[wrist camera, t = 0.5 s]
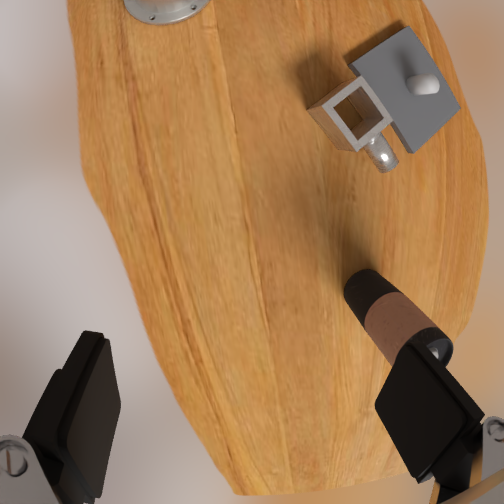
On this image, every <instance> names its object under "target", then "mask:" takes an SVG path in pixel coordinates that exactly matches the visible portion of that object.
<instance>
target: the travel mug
mask: <svg viewBox="0 0 504 504" xmlns="http://www.w3.org/2000/svg"><path fill="white" fill-rule="evenodd" d="M344 297H345V300H346V302H347V304H348V305H349V307H350V308H351V310H352V311H353V313H354V314H355V316H356V317H357V319H358V320H359V322H360V323H361V325H362V326H363V328H364V329H365V331H366V332H367V333H368V335H369V336H370V337H371V339H372V340H373V341H374V343H375V344H376V345H377V347H378V348H379V349H380V351H381V352H382V353H383V355H384V356H385V357H386V359H387V360H388V362H389V363H390V364H391V366H392V367H393V365H394V362H395V360H396V358H397V356H398V353H399V351H400V349H401V348H402V347H403V346H404V345H405V344H406V343H408V342H417V341H420V342H423V343H424V344H425V345H426V346H427V347H428V349H429V350H430V351H431V352H432V353H433V354H434V355H435V356H436V357H437V359H438V360H439V361H440V362H441V363H442V364H443V365H444V366H445V367H446V366H447V364H448V363H449V361H450V359H451V357H452V354H453V343H452V341H451V340H450V339H449V338H448V337H447V336H446V335H445V334H444V333H443V332H442V331H441V330H440V329H439V328H438V327H437V326H436V325H435V324H434V323H433V322H432V321H431V320H430V319H429V318H428V317H427V316H426V315H425V314H424V313H423V312H422V311H421V310H420V309H419V308H418V307H417V306H416V305H415V304H414V303H413V302H412V301H411V300H410V299H409V298H408V297H407V296H405V295H404V294H403V293H402V292H401V291H399V290H398V289H397V288H396V287H395V286H393V285H392V284H391V283H390V282H389V281H387V280H386V279H385V278H384V277H382V276H381V275H380V274H379V273H377V272H376V271H373V270H370V269H366V270H361V271H359V272H357V273H356V274H354V275H353V276H352V277H351V278H350V279H349V280H348V282H347V284H346V286H345V290H344Z"/></svg>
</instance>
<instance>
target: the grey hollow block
mask: <svg viewBox="0 0 504 504" xmlns="http://www.w3.org/2000/svg"><path fill="white" fill-rule="evenodd" d="M344 98H347V99H348V100H349V101H350V103H351V104H352V105H353V107H354V108H355V109H356V111H357V112H358V114H359V115H360V116H361V118H362V119H363V120H362V121H361V122H360V123H359V124H357V125H356V126H355V127H354V128H353V129H351V130H349V128H348V127H347V126H346V124H345V123H344V122H343V120H342V119H341V118H340V116H339V115H338V114H337V112H336V111H335V110H334V109H333V107H334V106H336V105H337V104H338V103H339V102H341V101H342V100H343V99H344ZM307 111H308V113H309V114H310V115H311V116H312V118H313V119H314V120H315V121H316V122H317V124H318V125H319V126H320V127H321V129H322V130H323V131H324V132H325V134H326V135H327V136H328V138H329V139H330V140H331V142H332V143H333V144H334V145H335V147H336V148H337V149H338V150H342V151H351V152H357V151H359V150H360V149H361V148H362V147H363V148H364V149H365V151H366V152H367V154H368V155H369V157H370V158H371V160H372V161H373V163H374V164H375V166H376V167H377V169H378V170H379V172H380V173H386V172H388V171H390V170H392V169H394V168H395V167H396V166H397V165H398V163H399V160H398V158H397V157H396V155H395V153H394V152H393V150H392V149H391V147H390V145H389V144H388V142H387V141H386V139H385V138H384V136H383V135H382V133H381V131H382V130H383V129H384V128H385V127H386V126H388V125H389V124H390V123H391V122H392V121H393V119H392V117H391V116H390V114H389V113H388V111H387V110H386V108H385V107H384V106H383V104H382V103H381V101H380V100H379V98H378V97H377V96H376V94H375V93H374V91H373V90H372V89H371V87H370V86H369V85H368V83H367V82H366V81H365V79H364V78H363V77H362V75H361V76H358V77H355V78H353V79H350V80H348V81H345V82H342V83H341V84H340V85H338V86H337V87H336V88H335V89H333V90H332V91H331V92H329V93H328V94H327V95H325V96H324V97H323V98H322V99H320V100H319V101H318V102H316V103H315V104H314V105H313V106H311V107H310V108H309V109H308V110H307Z"/></svg>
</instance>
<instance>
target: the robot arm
mask: <svg viewBox="0 0 504 504" xmlns="http://www.w3.org/2000/svg"><path fill="white" fill-rule="evenodd" d="M209 1H210V0H124V5H125V7H126V9H127V10H128V12H129V13H130V14H131V15H132V16H133V17H134V18H135V19H137V20H139V21H141V22H143V23H147V24H151V25H168V24H174V23H178V22H181V21H184V20H186V19H188V18H190V17H192V16H194V15H195V14H197V13H198V12H200V11H201V10H202V9H203V8H204V7H205V6H206V5H207V4H208V3H209ZM192 9H195V10H192ZM152 19H154V20H152ZM120 408H121V401H120V396H119V391H118V386H117V381H116V376H115V371H114V364H113V359H112V352H111V346H110V341H109V339H106V338H104V335H103V333H98V332H92V331H83V333H82V334H81V336H80V338H79V340H78V341H77V343H76V345H75V347H74V348H73V350H72V352H71V354H70V355H69V357H68V359H67V361H66V363H65V365H64V366H63V368H62V369H57V370H56V371H55V372H54V374H53V376H52V377H51V379H50V381H49V383H48V385H47V387H46V389H45V391H44V393H43V395H42V397H41V399H40V400H39V402H38V405H37V407H36V409H35V411H34V413H33V415H32V417H31V419H30V421H29V423H28V426H27V428H26V430H25V432H24V434H23V436H22V438H20V437H18V436H14V435H3V436H1V437H0V504H83V503H88V504H94V502H95V498H100V497H101V495H102V490H103V485H104V480H105V475H106V470H107V465H108V460H109V456H110V451H111V446H112V442H113V438H114V434H115V429H116V426H117V421H118V418H119V414H120ZM375 409H376V412H377V413H378V415H379V417H380V419H381V421H382V422H383V424H384V426H385V428H386V430H387V431H388V433H389V435H390V437H391V439H392V441H393V443H394V444H395V446H396V448H397V450H398V452H399V454H400V456H401V457H402V459H403V461H404V463H405V465H406V467H407V469H408V471H409V472H410V474H411V476H412V477H413V478H416V480H417V482H418V484H419V483H422V482H424V481H427V480H429V479H430V478H431V477H432V476H434V477H435V482H434V487H433V490H432V494H431V499H430V502H429V504H504V420H503V419H502V418H499V417H495V416H492V417H488V418H487V419H486V420H485V421H484V422H483V424H482V425H481V423H480V421H481V420H482V418H483V417H484V415H485V414H484V413H483V411H482V410H481V409H480V408H479V407H478V405H477V404H476V403H475V402H474V400H473V399H472V398H471V397H470V396H469V395H468V393H467V392H466V391H465V390H464V388H463V387H462V386H461V385H460V384H459V383H458V381H457V380H456V379H455V378H454V377H453V376H452V375H451V373H450V372H449V371H448V370H447V369H446V368H445V366H444V365H443V364H442V363H441V362H440V361H439V360H438V359H437V357H436V356H435V355H434V354H433V353H432V352H431V351H430V350H429V349H428V347H427V346H426V345H425V344H424V343H423V342H420V341H417V342H408V343H406V344H405V345H404V346H403V347H402V348H401V349H400V351H399V353H398V356H397V358H396V360H395V362H394V365H393V367H392V369H391V371H390V373H389V375H388V377H387V379H386V381H385V383H384V385H383V387H382V389H381V391H380V393H379V395H378V397H377V399H376V401H375Z"/></svg>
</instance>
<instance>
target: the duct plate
mask: <svg viewBox="0 0 504 504" xmlns="http://www.w3.org/2000/svg"><path fill="white" fill-rule="evenodd" d="M348 67H349V68H350V69H351V70H352V72H353V73H354V74H355V75H356V77H358V76H361V75H362V77H363V78H364V79H365V81H366V82H367V83H368V85H369V86H370V87H371V89H372V90H373V91H374V93H375V94H376V96H377V97H378V98H379V100H380V101H381V103H382V104H383V106H384V107H385V108H386V110H387V111H388V113H389V114H390V116H391V117H392V119H393V121H392V122H391V123H390V124H391V126H392V127H393V129H394V131H395V132H396V134H397V135H398V137H399V139H400V140H401V142H402V143H403V145H404V147H405V148H406V150H407V152H408V153H412V154H414V153H415V152H416V151H417V150H418V149H419V148H420V147H421V146H422V145H423V144H424V143H425V142H427V141H428V140H429V139H430V138H431V137H432V136H433V135H434V134H435V133H436V132H437V131H438V130H439V129H440V128H441V127H442V126H443V125H444V124H445V123H446V122H447V121H448V120H449V119H450V118H451V117H452V116H454V115H455V114H456V113H457V112H458V111H459V110H460V109H461V108H460V106H459V104H458V102H457V100H456V98H455V96H454V95H453V93H452V91H451V89H450V87H449V86H448V84H447V82H446V80H445V79H444V77H443V75H442V74H441V72H440V70H439V69H438V67H437V66H436V64H435V62H434V61H433V59H432V58H431V56H430V55H429V53H428V52H427V50H426V49H425V47H424V46H423V44H422V43H421V41H420V40H419V39H418V37H417V36H416V34H415V33H414V32H413V30H412V29H411V28H410V26H407V27H405V28H403V29H401V30H400V31H398V32H397V33H395V34H394V35H392V36H390V37H389V38H387V39H386V40H384V41H383V42H381V43H380V44H378V45H377V46H375V47H374V48H372V49H371V50H369V51H368V52H366V53H365V54H363V55H362V56H361V57H359V58H358V59H356V60H355V61H353V62H352V63H351V64H349V65H348Z"/></svg>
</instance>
